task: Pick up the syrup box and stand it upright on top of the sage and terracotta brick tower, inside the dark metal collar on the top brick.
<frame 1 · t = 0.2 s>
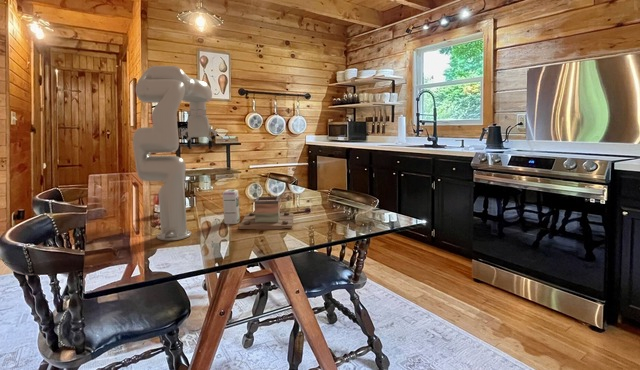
hand: (200, 148, 194), 31 cm above the table, tool pointing down, fingers open, 9 cm apart
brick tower: (267, 222, 175), on the table
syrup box: (232, 222, 176), on the table
pump dispenser: (175, 213, 194), on the table
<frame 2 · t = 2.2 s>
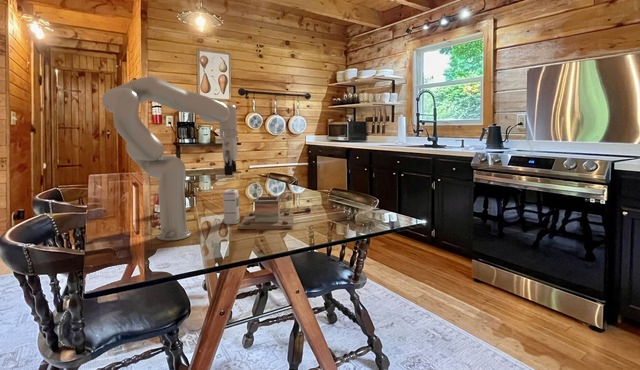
hand: (230, 173, 172), 22 cm above the table, tool pointing down, fingers open, 9 cm apart
nothing on the table moved.
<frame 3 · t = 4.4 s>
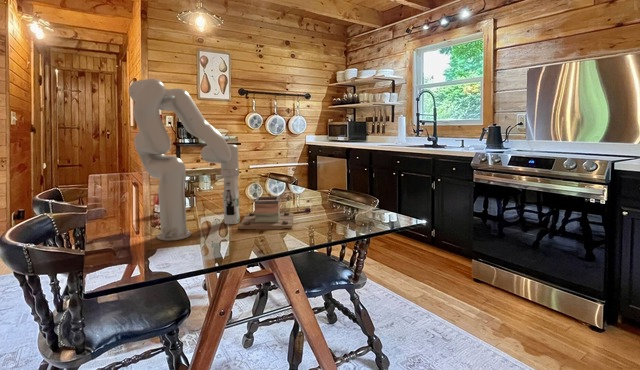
hand: (231, 212, 175), 4 cm above the table, tool pointing down, fingers closed on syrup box, 5 cm apart
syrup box: (232, 222, 176), on the table, touching gripper
everything else where it was.
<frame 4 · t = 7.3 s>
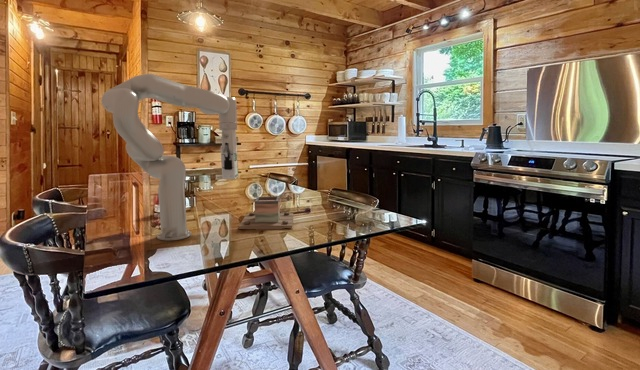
hand: (229, 168, 171), 24 cm above the table, tool pointing down, fingers closed on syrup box, 5 cm apart
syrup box: (230, 178, 172), point 20 cm above the table, touching gripper
everything else where it was.
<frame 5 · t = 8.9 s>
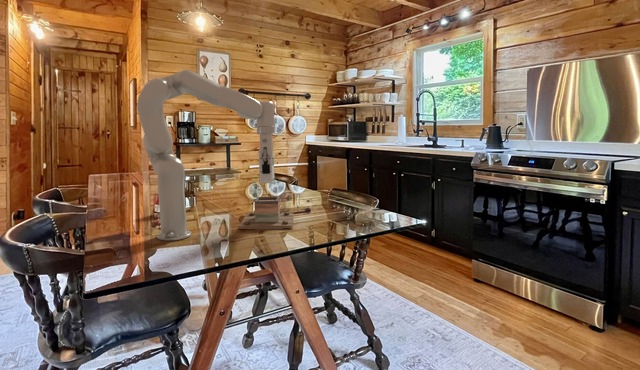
hand: (266, 172, 172), 23 cm above the table, tool pointing down, fingers closed on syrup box, 5 cm apart
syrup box: (267, 182, 172), point 18 cm above the table, touching gripper
everything else where it was.
when the fingers open (15 cm above the table, at t = 10.5 s): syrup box drops 1 cm, resting on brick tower.
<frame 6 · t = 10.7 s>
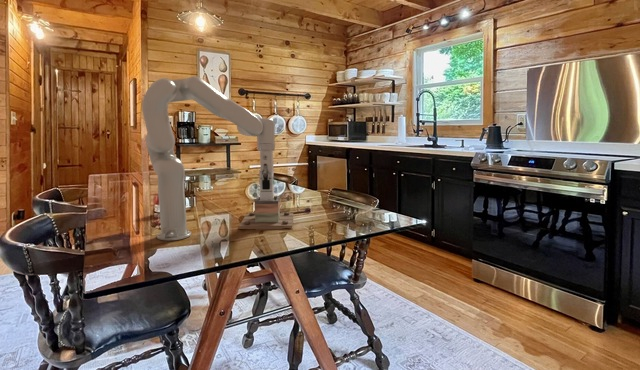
hand: (267, 187, 173), 16 cm above the table, tool pointing down, fingers open, 7 cm apart
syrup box: (267, 201, 174), point 9 cm above the table, touching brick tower
everything else where it was.
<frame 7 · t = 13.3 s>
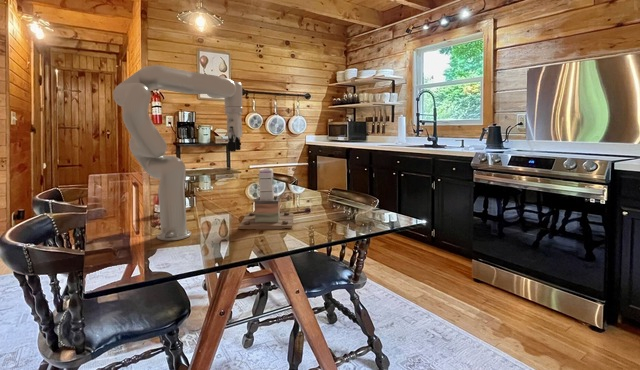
hand: (234, 150, 173), 32 cm above the table, tool pointing down, fingers open, 9 cm apart
nothing on the table moved.
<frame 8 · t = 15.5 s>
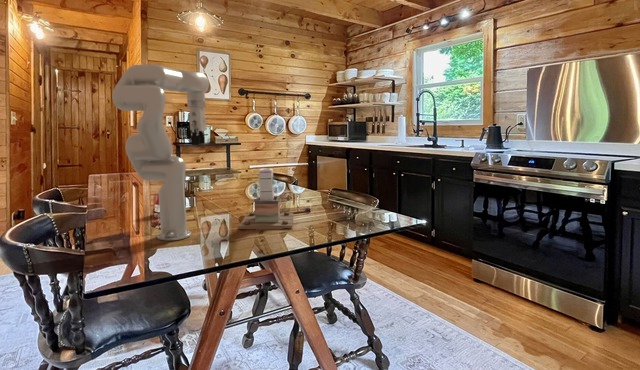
hand: (198, 144, 177), 34 cm above the table, tool pointing down, fingers open, 9 cm apart
nothing on the table moved.
at the end: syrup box 0.2 cm off-centre on the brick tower, point 9.3 cm above the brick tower's base; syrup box tilted 0°; the gripper is holding nothing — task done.
